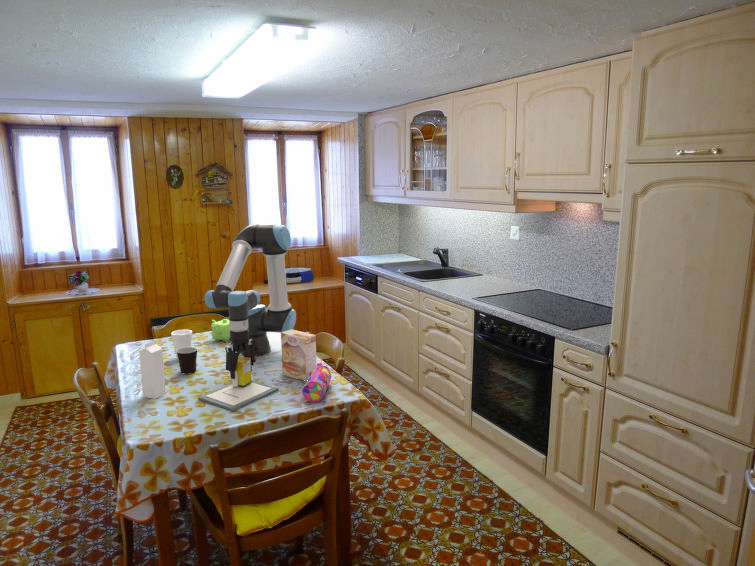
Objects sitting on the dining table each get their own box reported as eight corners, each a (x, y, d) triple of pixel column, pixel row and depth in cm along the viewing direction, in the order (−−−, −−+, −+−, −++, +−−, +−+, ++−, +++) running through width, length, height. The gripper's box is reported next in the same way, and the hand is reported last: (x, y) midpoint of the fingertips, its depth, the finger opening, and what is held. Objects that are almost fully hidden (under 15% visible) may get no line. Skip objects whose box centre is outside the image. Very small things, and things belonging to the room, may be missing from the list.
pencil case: (309, 382, 224) (309, 362, 222) (331, 382, 224) (331, 362, 222) (301, 403, 203) (300, 381, 201) (325, 404, 202) (325, 381, 201)
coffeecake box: (281, 374, 233) (280, 332, 229) (293, 370, 238) (292, 328, 235) (305, 382, 224) (304, 338, 220) (317, 377, 229) (316, 334, 226)
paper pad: (244, 380, 226) (244, 377, 226) (278, 390, 215) (278, 387, 215) (198, 399, 206) (198, 396, 206) (233, 411, 195) (232, 408, 195)
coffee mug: (192, 375, 232) (190, 353, 230) (174, 374, 233) (172, 352, 231) (205, 366, 243) (204, 345, 241) (188, 365, 245) (187, 344, 243)
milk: (143, 397, 208) (137, 343, 204) (153, 391, 214) (149, 339, 210) (155, 399, 207) (150, 345, 202) (166, 393, 212) (161, 340, 208)
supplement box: (240, 380, 222) (238, 355, 220) (252, 382, 220) (251, 357, 218) (231, 385, 216) (230, 360, 214) (243, 387, 214) (242, 362, 212)
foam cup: (168, 359, 252) (166, 333, 250) (182, 354, 261) (180, 328, 258) (184, 362, 249) (182, 335, 246) (198, 356, 257) (196, 330, 255)
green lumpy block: (212, 344, 276) (211, 323, 274) (210, 337, 289) (209, 317, 287) (241, 341, 281) (240, 321, 279) (238, 334, 294) (237, 315, 292)
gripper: (226, 336, 203) (229, 392, 208) (263, 325, 220) (265, 377, 224) (213, 333, 208) (216, 388, 212) (250, 322, 224) (253, 374, 228)
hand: (241, 382), depth 218 cm, fingers closed on supplement box, 7 cm apart
